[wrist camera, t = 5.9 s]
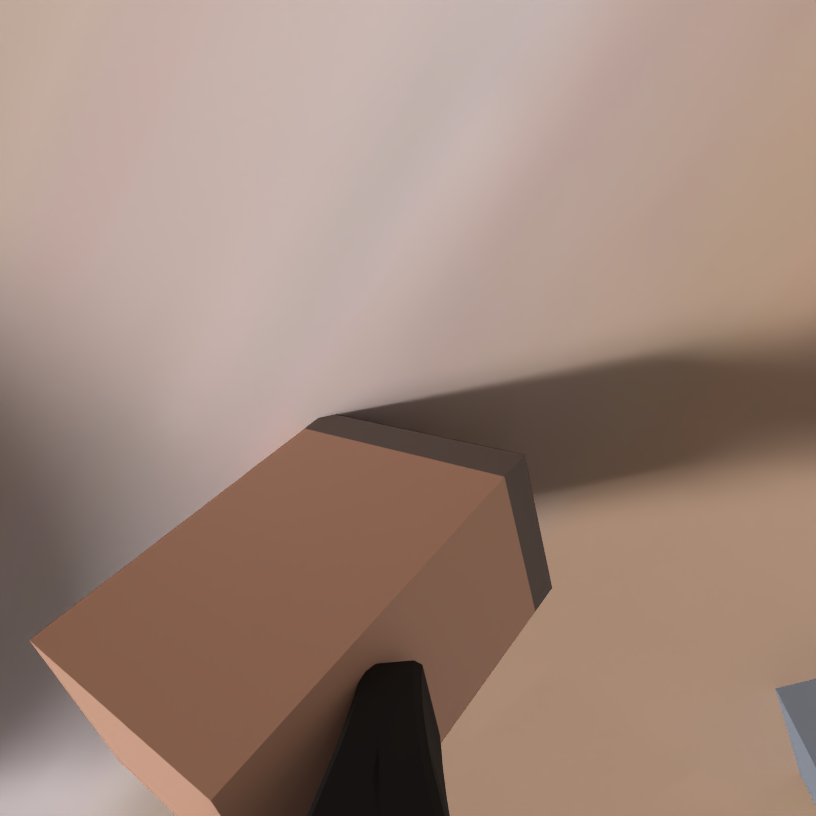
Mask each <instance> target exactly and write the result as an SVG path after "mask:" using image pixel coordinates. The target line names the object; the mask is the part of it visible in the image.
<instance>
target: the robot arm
mask: <svg viewBox="0 0 816 816" xmlns="http://www.w3.org/2000/svg"><path fill="white" fill-rule="evenodd" d="M307 816H450V815H449V809H448V803H447V796H446V789H445V782H444V774H443V765H442V753H441V740H440V733H439V729H438V725H437V721H436V717H435V713H434V709H433V705H432V701H431V697H430V693H429V689H428V685H427V681H426V677H425V673H424V669H423V665H422V664H420V663H418V662H416V661H415V660H411V661H400V662H389V663H377V664H375V665H373V666H372V667H371V668H370V669H368V670H367V671H366V672H365V673H364V675H363V676H362V678H361V680H360V681H359V683H358V685H357V688H356V691H355V694H354V697H353V700H352V703H351V706H350V709H349V712H348V715H347V718H346V720H345V723H344V726H343V729H342V731H341V734H340V737H339V739H338V742H337V745H336V747H335V750H334V752H333V755H332V758H331V760H330V762H329V765H328V767H327V770H326V772H325V774H324V777H323V779H322V781H321V784H320V786H319V789H318V791H317V793H316V796H315V798H314V800H313V803H312V805H311V808H310V810H309V812H308V814H307Z"/></svg>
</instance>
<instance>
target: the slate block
mask: <svg viewBox="0 0 816 816" xmlns="http://www.w3.org/2000/svg"><path fill="white" fill-rule="evenodd" d="M776 692H777V695H778V699H779V702H780V706H781V709H782V713H783V716H784V720H785V723H786V727H787V730H788V734H789V737H790V741H791V744H792V748H793V751H794V755H795V758H796V762H797V765H798V769H799V772H800V775H801V777H802V779H803V781H804V783H805V785H806V787H807V789H808V791H809V793H810V795H811V797H812V799H813V801H814V803H815V805H816V679H813V680H809V681H805V682H801V683H797V684H793V685H789V686H785V687H781V688H777V689H776Z"/></svg>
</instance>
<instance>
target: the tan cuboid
mask: <svg viewBox="0 0 816 816" xmlns="http://www.w3.org/2000/svg"><path fill="white" fill-rule="evenodd" d="M551 589H552V585H551V580H550V576H549V571H548V566H547V561H546V556H545V552H544V547H543V542H542V537H541V532H540V528H539V523H538V518H537V513H536V508H535V503H534V499H533V494H532V489H531V484H530V479H529V475H528V470H527V465H526V460H525V455H523V454H519V453H514V452H509V451H505V450H500V449H495V448H490V447H486V446H481V445H476V444H472V443H467V442H462V441H457V440H453V439H448V438H443V437H439V436H434V435H429V434H424V433H420V432H415V431H410V430H406V429H401V428H396V427H391V426H387V425H382V424H377V423H373V422H368V421H363V420H359V419H354V418H349V417H344V416H340V415H331V416H326V417H321V418H318V419H316V420H315V421H314V422H313V423H311V424H310V425H309V426H307V427H306V428H305V429H303V430H302V431H301V432H300V433H298V434H297V435H296V436H294V437H293V438H292V439H290V440H289V441H288V442H287V443H285V444H284V445H283V446H281V447H280V448H279V449H277V450H276V451H275V452H273V453H272V454H271V455H270V456H268V457H267V458H266V459H264V460H263V461H262V462H260V463H259V464H258V465H257V466H255V467H254V468H253V469H251V470H250V471H249V472H247V473H246V474H245V475H244V476H242V477H241V478H240V479H238V480H237V481H236V482H234V483H233V484H232V485H231V486H229V487H228V488H227V489H225V490H224V491H223V492H221V493H220V494H219V495H217V496H216V497H215V498H214V499H212V500H211V501H210V502H208V503H207V504H206V505H204V506H203V507H202V508H201V509H199V510H198V511H197V512H195V513H194V514H193V515H191V516H190V517H189V518H188V519H186V520H185V521H184V522H182V523H181V524H180V525H178V526H177V527H176V528H175V529H173V530H172V531H171V532H169V533H168V534H167V535H165V536H164V537H163V538H161V539H160V540H159V541H158V542H156V543H155V544H154V545H152V546H151V547H150V548H148V549H147V550H146V551H145V552H143V553H142V554H141V555H139V556H138V557H137V558H135V559H134V560H133V561H132V562H130V563H129V564H128V565H126V566H125V567H124V568H122V569H121V570H120V571H119V572H117V573H116V574H115V575H113V576H112V577H111V578H109V579H108V580H107V581H105V582H104V583H103V584H102V585H100V586H99V587H98V588H96V589H95V590H94V591H92V592H91V593H90V594H89V595H87V596H86V597H85V598H83V599H82V600H81V601H79V602H78V603H77V604H76V605H74V606H73V607H72V608H70V609H69V610H68V611H66V612H65V613H64V614H62V615H61V616H60V617H59V618H57V619H56V620H55V621H53V622H52V623H51V624H49V625H48V626H47V627H46V628H44V629H43V630H42V631H40V632H39V633H38V634H36V635H35V636H34V637H33V638H31V639H30V640H29V641H30V642H31V643H32V645H33V646H34V647H35V649H36V650H37V651H38V653H39V654H40V655H41V657H42V658H43V659H44V661H45V662H46V663H47V665H48V666H49V668H50V669H51V670H52V672H53V673H54V674H55V676H56V677H57V678H58V680H59V681H60V682H61V684H62V685H63V686H64V688H65V689H66V690H67V692H68V693H69V694H70V696H71V697H72V698H73V700H74V701H75V702H76V704H77V705H78V706H79V708H80V709H81V710H82V712H83V713H84V715H85V716H86V717H87V719H88V720H89V721H90V723H91V724H92V725H93V727H94V728H95V729H96V731H97V732H98V733H99V735H100V736H101V737H102V739H103V740H104V741H105V743H106V744H107V745H108V747H109V748H110V749H111V751H112V752H113V753H114V755H115V756H116V757H117V759H118V760H119V761H120V762H121V763H122V764H123V765H124V766H125V767H126V768H127V769H128V770H129V771H130V772H131V773H132V774H133V775H134V776H135V777H136V778H137V779H138V780H140V781H141V782H142V783H143V784H144V785H145V786H146V787H147V788H148V789H149V790H150V791H151V792H152V793H153V794H154V795H155V796H156V797H157V798H158V799H159V800H160V801H161V802H162V803H163V804H164V805H165V806H166V807H168V808H169V809H170V810H171V811H172V812H173V813H174V814H175V815H176V816H307V814H308V812H309V810H310V808H311V805H312V803H313V800H314V798H315V796H316V793H317V791H318V789H319V786H320V784H321V781H322V779H323V777H324V774H325V772H326V770H327V767H328V765H329V762H330V760H331V758H332V755H333V752H334V750H335V747H336V745H337V742H338V739H339V737H340V734H341V731H342V729H343V726H344V723H345V720H346V718H347V715H348V712H349V709H350V706H351V703H352V700H353V697H354V694H355V691H356V688H357V685H358V683H359V681H360V680H361V678H362V676H363V675H364V673H365V672H366V671H367V670H368V669H370V668H371V667H372V666H373V665H375V664H377V663H389V662H400V661H411V660H415V661H416V662H418V663H420V664H422V665H423V669H424V673H425V677H426V681H427V685H428V689H429V693H430V697H431V701H432V705H433V709H434V713H435V717H436V721H437V725H438V729H439V733H440V740H441V742H442V741H443V739H444V738H445V737H446V735H447V734H448V732H449V731H450V730H451V728H452V727H453V725H454V724H455V723H456V721H457V720H458V719H459V717H460V716H461V714H462V713H463V712H464V710H465V709H466V707H467V706H468V705H469V703H470V702H471V700H472V699H473V698H474V696H475V695H476V693H477V692H478V691H479V689H480V688H481V686H482V685H483V684H484V682H485V681H486V679H487V678H488V677H489V675H490V674H491V672H492V671H493V670H494V668H495V667H496V665H497V664H498V663H499V661H500V660H501V658H502V657H503V656H504V654H505V653H506V651H507V650H508V649H509V647H510V646H511V644H512V643H513V642H514V640H515V639H516V637H517V636H518V635H519V633H520V632H521V630H522V629H523V628H524V626H525V625H526V623H527V622H528V621H529V619H530V618H531V616H532V615H533V614H534V612H535V611H536V609H537V608H538V607H539V605H540V604H541V602H542V601H543V600H544V598H545V597H546V596H547V594H548V593H549V591H550V590H551Z"/></svg>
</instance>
